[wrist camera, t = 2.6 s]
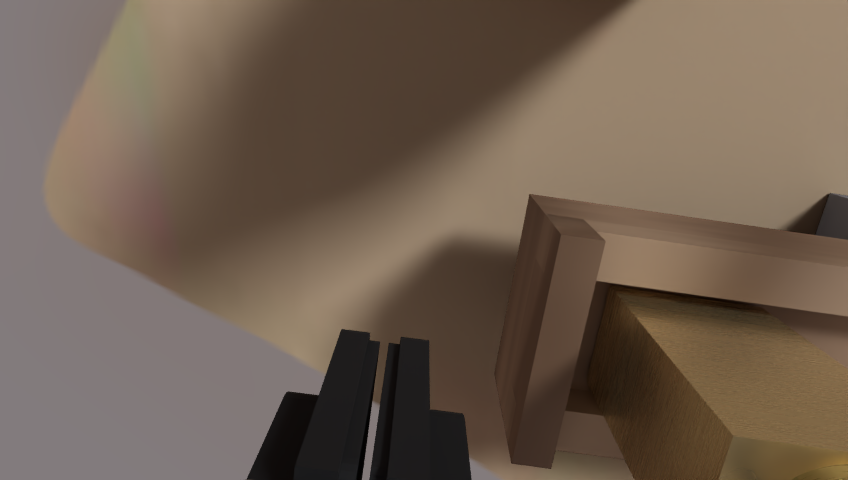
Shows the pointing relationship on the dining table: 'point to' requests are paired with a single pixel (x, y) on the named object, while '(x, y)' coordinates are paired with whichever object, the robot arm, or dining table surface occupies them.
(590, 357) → the beam
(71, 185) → the dining table surface
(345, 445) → the robot arm
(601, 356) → the rider
